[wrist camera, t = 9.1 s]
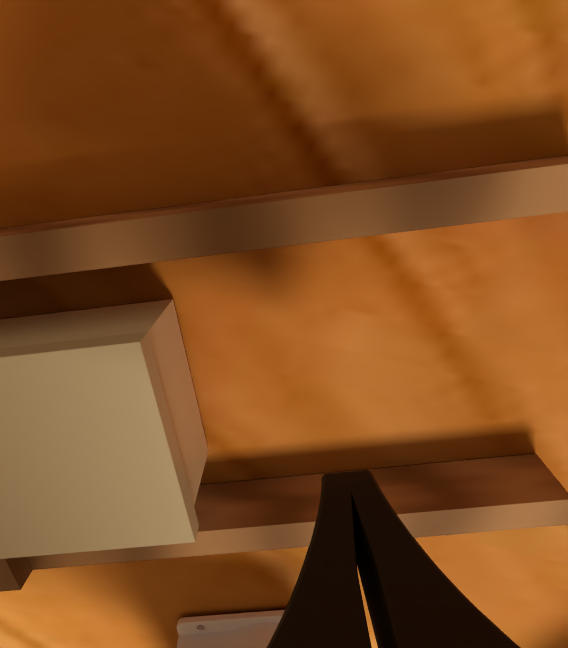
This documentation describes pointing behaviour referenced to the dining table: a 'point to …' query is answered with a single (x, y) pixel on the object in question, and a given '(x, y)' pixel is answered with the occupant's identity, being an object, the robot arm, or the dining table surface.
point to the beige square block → (97, 431)
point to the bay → (293, 229)
